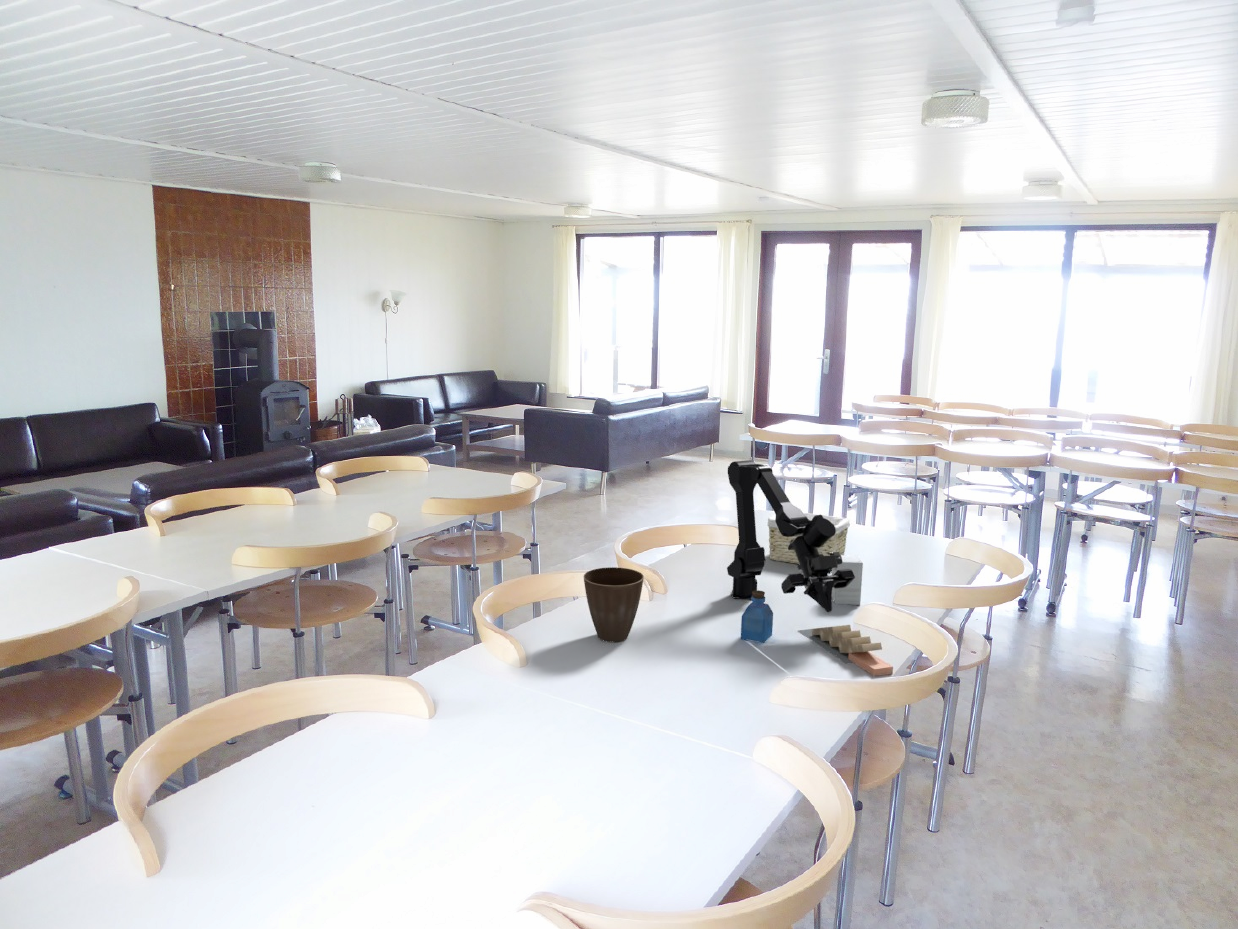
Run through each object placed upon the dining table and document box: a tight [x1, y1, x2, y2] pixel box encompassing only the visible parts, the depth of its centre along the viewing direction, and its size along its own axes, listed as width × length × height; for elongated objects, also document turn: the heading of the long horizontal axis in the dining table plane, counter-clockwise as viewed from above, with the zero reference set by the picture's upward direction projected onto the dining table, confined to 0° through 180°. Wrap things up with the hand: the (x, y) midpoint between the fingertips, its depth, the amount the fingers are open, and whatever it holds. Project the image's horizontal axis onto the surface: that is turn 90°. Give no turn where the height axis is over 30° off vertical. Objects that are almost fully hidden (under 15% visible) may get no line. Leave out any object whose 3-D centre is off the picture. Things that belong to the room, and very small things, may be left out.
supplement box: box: [831, 554, 864, 606], centre depth 242 cm, size 7×7×13 cm
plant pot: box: [583, 566, 645, 643], centre depth 211 cm, size 15×15×16 cm
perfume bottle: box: [740, 589, 774, 644], centre depth 213 cm, size 6×6×12 cm
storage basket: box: [767, 511, 851, 565], centre depth 283 cm, size 24×16×15 cm
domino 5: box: [848, 651, 894, 677], centre depth 196 cm, size 2×5×10 cm
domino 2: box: [820, 630, 862, 641], centre depth 208 cm, size 2×5×10 cm
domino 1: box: [811, 624, 852, 635], centre depth 211 cm, size 2×5×10 cm
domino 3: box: [829, 636, 872, 647], centre depth 204 cm, size 2×5×10 cm
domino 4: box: [839, 642, 883, 653], centre depth 200 cm, size 2×5×10 cm
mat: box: [797, 626, 855, 664], centre depth 209 cm, size 22×9×1 cm, turn 19°
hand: (829, 611), depth 212 cm, fingers closed
